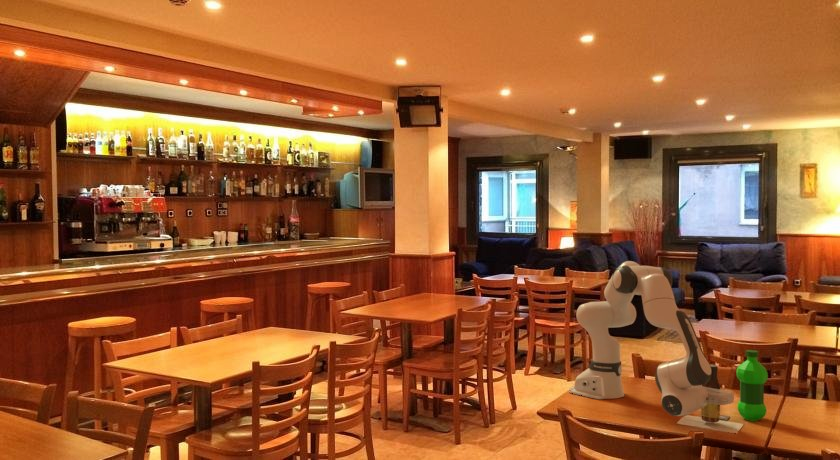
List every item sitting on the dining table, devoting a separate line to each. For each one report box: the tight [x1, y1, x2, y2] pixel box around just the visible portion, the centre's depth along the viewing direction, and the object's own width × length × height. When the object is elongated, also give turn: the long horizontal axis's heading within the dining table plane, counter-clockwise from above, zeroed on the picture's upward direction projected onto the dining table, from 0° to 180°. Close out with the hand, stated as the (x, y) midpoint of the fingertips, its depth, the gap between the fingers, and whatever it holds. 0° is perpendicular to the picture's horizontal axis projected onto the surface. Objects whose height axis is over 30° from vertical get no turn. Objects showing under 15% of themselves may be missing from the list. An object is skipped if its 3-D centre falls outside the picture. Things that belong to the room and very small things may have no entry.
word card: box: [719, 414, 730, 421], centre depth 256 cm, size 8×5×1 cm, turn 54°
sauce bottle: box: [700, 363, 722, 423], centre depth 247 cm, size 6×6×20 cm
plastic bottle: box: [736, 349, 769, 422], centre depth 253 cm, size 10×10×25 cm
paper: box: [676, 414, 745, 435], centre depth 248 cm, size 20×12×1 cm, turn 54°
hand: (712, 389), depth 248 cm, fingers closed on sauce bottle, 6 cm apart
